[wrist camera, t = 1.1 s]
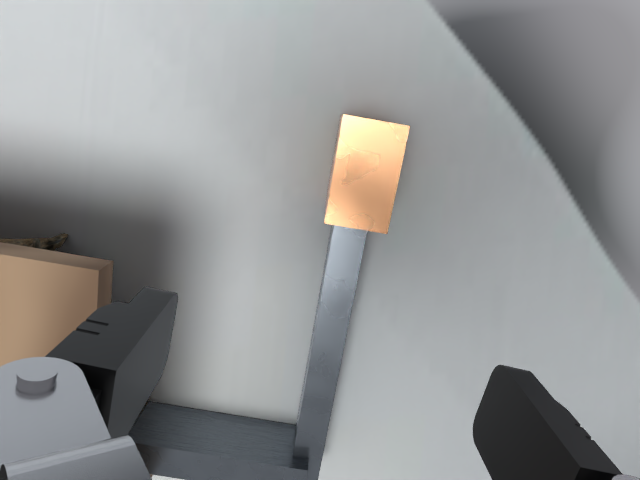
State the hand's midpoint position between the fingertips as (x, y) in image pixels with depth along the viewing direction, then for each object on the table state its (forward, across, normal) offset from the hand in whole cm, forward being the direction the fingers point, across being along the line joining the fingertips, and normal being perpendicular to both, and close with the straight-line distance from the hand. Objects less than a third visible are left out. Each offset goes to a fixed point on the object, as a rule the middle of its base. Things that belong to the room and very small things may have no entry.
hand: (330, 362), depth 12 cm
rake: (+17, +3, +6) cm, 18 cm away
